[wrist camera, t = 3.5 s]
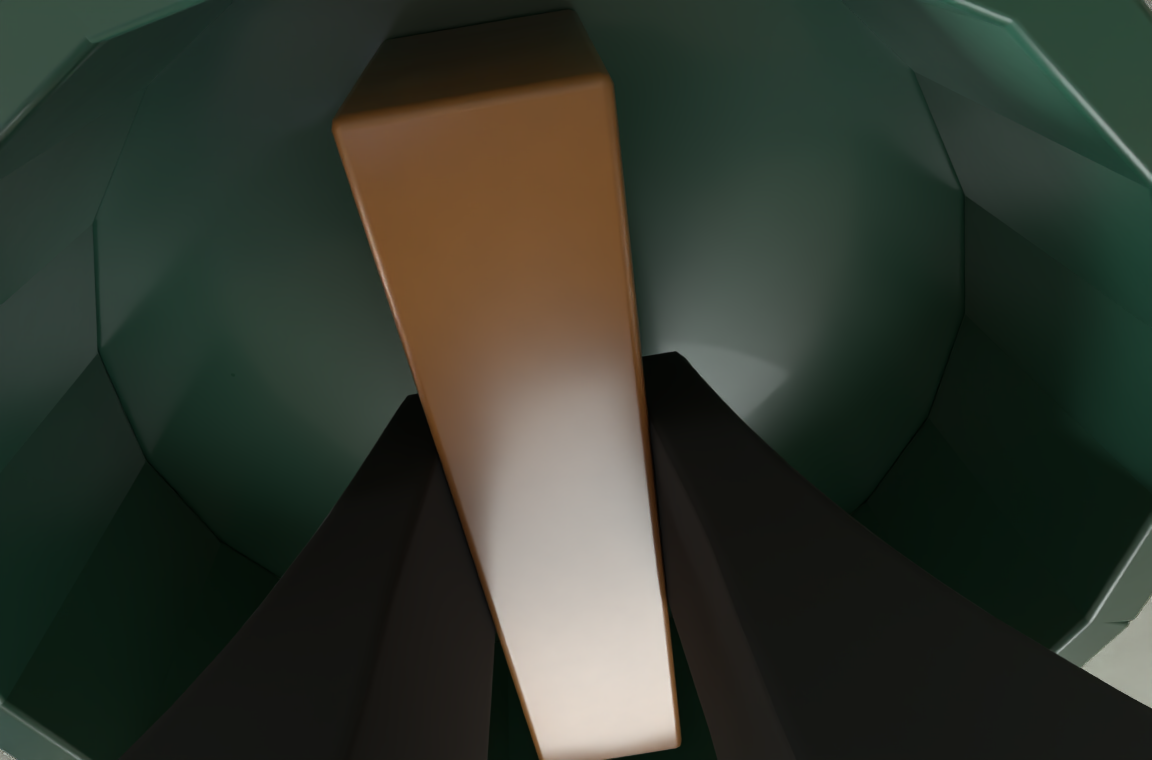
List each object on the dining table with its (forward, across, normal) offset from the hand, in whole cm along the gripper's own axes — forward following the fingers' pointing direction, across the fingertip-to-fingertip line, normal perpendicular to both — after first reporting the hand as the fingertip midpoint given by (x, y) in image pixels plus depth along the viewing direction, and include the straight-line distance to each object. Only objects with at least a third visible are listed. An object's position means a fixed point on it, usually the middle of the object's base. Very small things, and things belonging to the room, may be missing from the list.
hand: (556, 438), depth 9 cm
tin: (+2, 0, 0) cm, 2 cm away
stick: (+1, 0, 0) cm, 1 cm away
